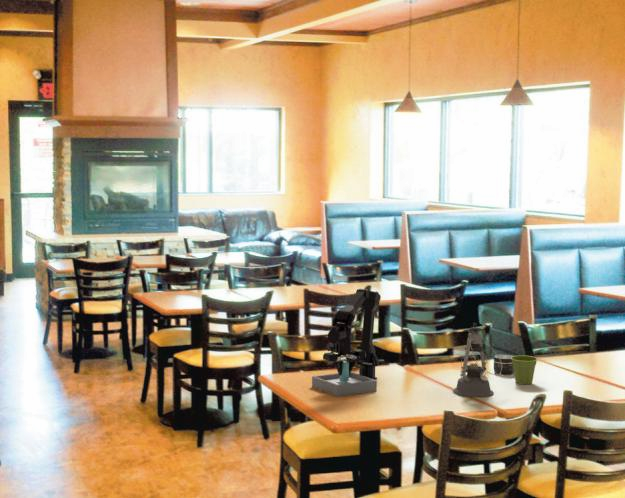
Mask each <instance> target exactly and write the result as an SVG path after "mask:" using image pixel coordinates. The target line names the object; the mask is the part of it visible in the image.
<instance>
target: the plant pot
mask: <svg viewBox="0 0 625 498" xmlns="http://www.w3.org/2000/svg"><path fill="white" fill-rule="evenodd" d="M512 356H513V357H511V359H512V363H513V367H514V373H513V375H514V380H515V383H516V384H518V385H522V384H524V385H531V384H532V383H533V380H534V374H535V368H536V365H537V361H538V360H539V358H537V357H536V356H533V355H531V356H530V355H512Z"/></svg>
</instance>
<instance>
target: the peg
mask: <svg viewBox="0 0 625 498" xmlns="http://www.w3.org/2000/svg"><path fill="white" fill-rule="evenodd" d="M342 361H343V360H342ZM340 381H342V382H347V381H349V362H347V360H346V361H345V360H344V361H343V366H342V374H341V376H340Z"/></svg>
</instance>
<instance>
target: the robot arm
mask: <svg viewBox="0 0 625 498" xmlns="http://www.w3.org/2000/svg"><path fill="white" fill-rule="evenodd" d="M381 298H382V297H381V294H379V291H375V290H370V289H366V288H358V289H356V292H355V293H354V294H353V296H352V298H351V299H350V300H349V301H348V303H347V304H346V305H344V306H343V307H340V308H339V309H338V310H337V312H336V313H335V315H334V318H333V322H332V324H331V329H330V330H329V331H328V333H327V339H328V341H329V343H327V345H326V350H327V352H324V353H323V354H322V355H323V356H322V360H324V361H327V362H330V363H331V362H333V363H334V365H335V368H336V371H337V373H338V374H339V376H341V374H342V366H343V360H342V359H343V358H345V359H346V361H347V362H349V374H350V372H352V370H353V369H354V368H353V366H354V365H355V363H356V361H357V365H360V367H359V372H358V374H359V375H362V376H365V377H368V378H371V379H374V380H377V379H378V377H377V376H376V367H378V366H379V361H380V360H379V358H378V356H377V355H376V348H375V346H374V343H373V341H374V340H373V339H374V327H375V318H376V317H375V315H376V311H377V310H378V309H379V306H380V302H381ZM361 307H362V308H363V318H362V319H363V321H362V332H361V341H362V343H361V344H360V345H359V346H358V347H357V349H355V350H352V351H351V345H353V342H352V328H354V325H353V323H354V321H355V320H356V313H357V311H358V310H359V309H360V308H361Z"/></svg>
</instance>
